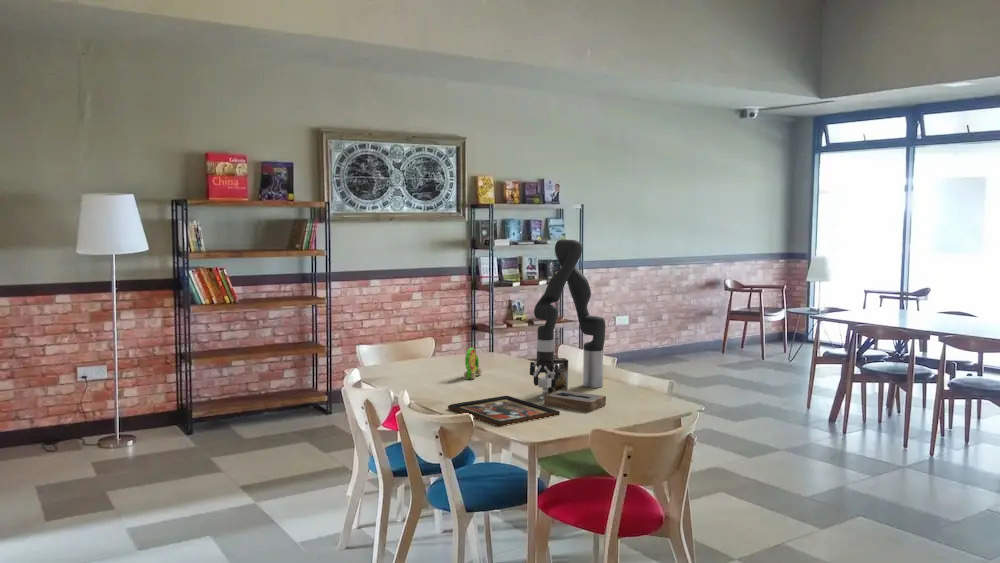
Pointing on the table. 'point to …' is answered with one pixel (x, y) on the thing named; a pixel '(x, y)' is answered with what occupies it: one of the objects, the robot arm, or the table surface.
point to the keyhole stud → (544, 385)
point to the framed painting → (503, 410)
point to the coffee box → (563, 380)
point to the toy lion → (472, 364)
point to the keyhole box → (575, 400)
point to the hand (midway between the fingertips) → (544, 386)
